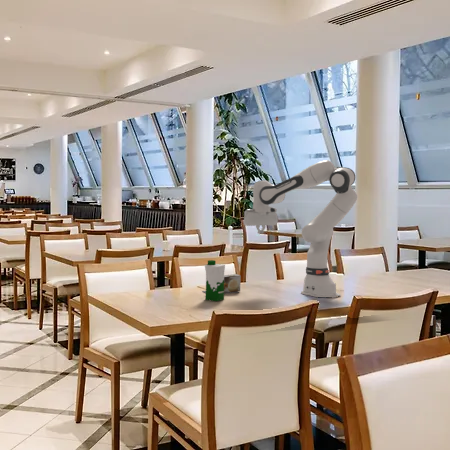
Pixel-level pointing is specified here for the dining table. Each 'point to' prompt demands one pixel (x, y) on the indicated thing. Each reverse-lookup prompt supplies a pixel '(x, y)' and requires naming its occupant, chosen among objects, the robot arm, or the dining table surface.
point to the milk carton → (214, 281)
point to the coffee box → (232, 283)
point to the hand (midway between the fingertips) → (260, 233)
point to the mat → (224, 293)
